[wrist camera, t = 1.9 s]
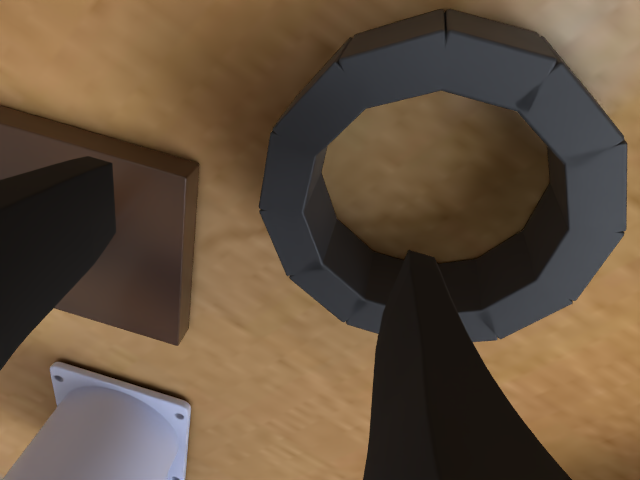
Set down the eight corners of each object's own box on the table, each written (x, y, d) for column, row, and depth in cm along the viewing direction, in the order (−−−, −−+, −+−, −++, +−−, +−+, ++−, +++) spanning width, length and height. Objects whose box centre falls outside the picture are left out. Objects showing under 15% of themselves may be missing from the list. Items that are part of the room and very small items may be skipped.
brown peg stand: (189, 328, 23) (112, 458, 18) (12, 274, 23) (-116, 385, 18) (200, 162, 18) (95, 276, 12) (-29, 96, 18) (-228, 178, 13)
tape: (510, 321, 19) (520, 377, 17) (266, 249, 19) (244, 294, 17) (672, 68, 13) (721, 103, 11) (317, -28, 13) (293, -14, 11)
